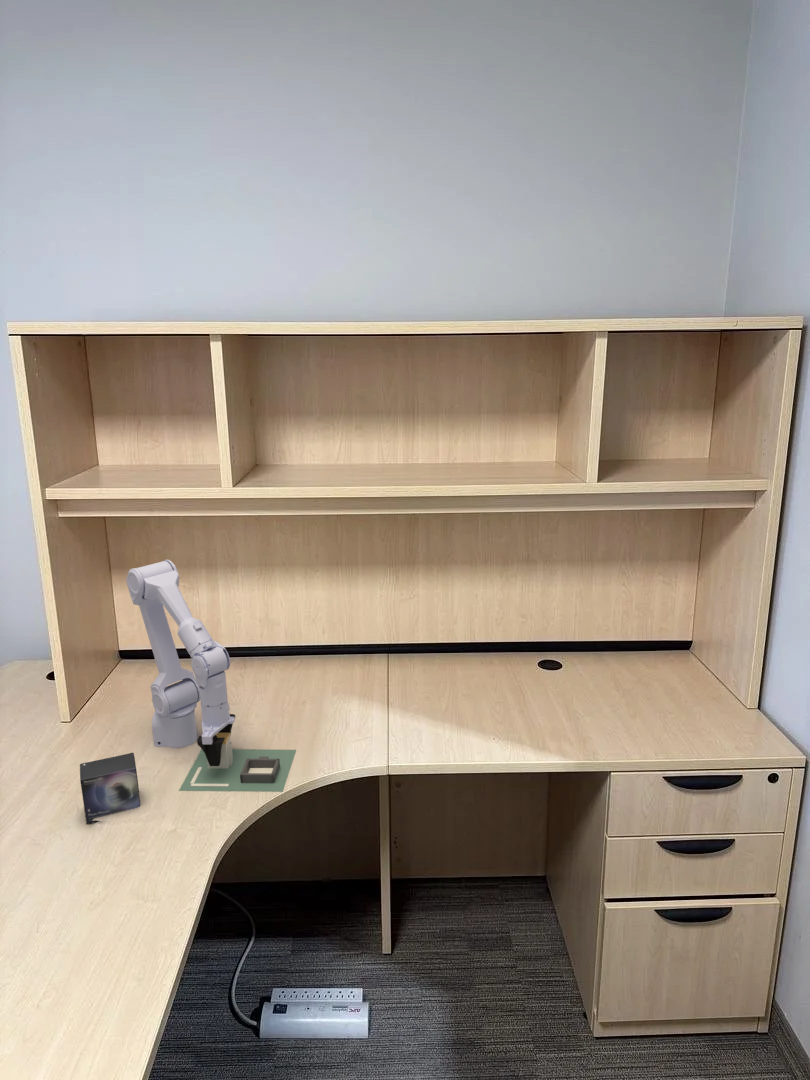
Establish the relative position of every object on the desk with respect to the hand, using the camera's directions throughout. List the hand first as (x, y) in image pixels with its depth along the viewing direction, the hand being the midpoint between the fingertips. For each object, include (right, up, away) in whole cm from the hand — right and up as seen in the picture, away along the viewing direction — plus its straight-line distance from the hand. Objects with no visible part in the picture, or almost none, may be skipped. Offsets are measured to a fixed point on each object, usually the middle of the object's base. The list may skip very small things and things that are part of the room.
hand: (219, 755), depth 164 cm
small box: (-18, -8, -13) cm, 24 cm away
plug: (0, -2, +1) cm, 2 cm away
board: (+5, -4, -1) cm, 6 cm away
